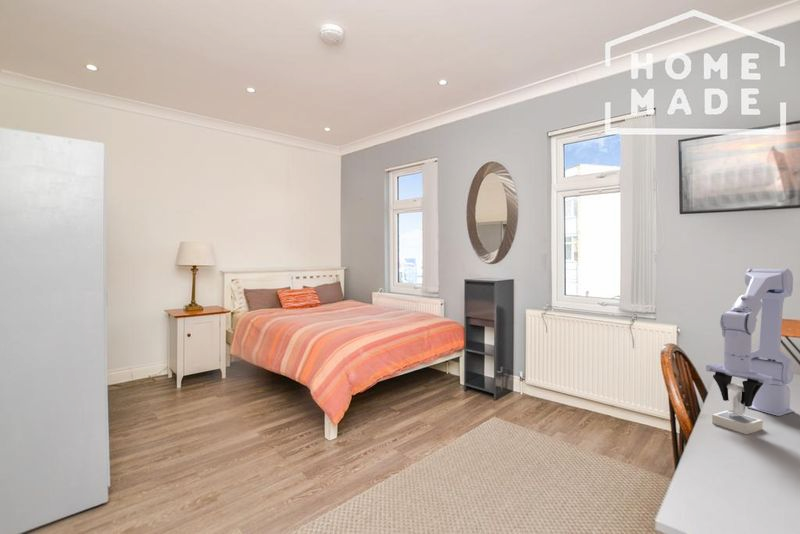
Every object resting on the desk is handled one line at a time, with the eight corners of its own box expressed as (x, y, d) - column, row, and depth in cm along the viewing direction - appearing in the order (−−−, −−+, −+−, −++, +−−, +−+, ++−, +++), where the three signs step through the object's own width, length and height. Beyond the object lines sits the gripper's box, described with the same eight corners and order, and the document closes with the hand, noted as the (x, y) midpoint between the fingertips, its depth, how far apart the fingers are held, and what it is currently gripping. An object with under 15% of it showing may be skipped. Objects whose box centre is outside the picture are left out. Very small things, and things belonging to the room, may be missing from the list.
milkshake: (754, 420, 106) (755, 384, 105) (732, 419, 106) (733, 383, 106) (742, 414, 110) (744, 379, 110) (721, 412, 111) (722, 378, 111)
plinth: (728, 418, 113) (728, 409, 113) (762, 429, 106) (762, 419, 106) (712, 423, 110) (712, 414, 110) (746, 434, 103) (746, 424, 103)
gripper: (700, 350, 113) (699, 396, 113) (762, 362, 100) (762, 414, 100) (713, 348, 116) (713, 393, 116) (776, 359, 103) (776, 410, 103)
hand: (737, 403), depth 108 cm, fingers open, 4 cm apart
